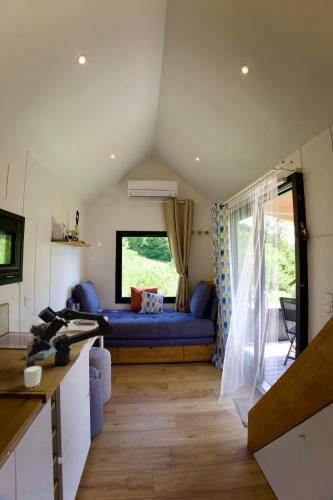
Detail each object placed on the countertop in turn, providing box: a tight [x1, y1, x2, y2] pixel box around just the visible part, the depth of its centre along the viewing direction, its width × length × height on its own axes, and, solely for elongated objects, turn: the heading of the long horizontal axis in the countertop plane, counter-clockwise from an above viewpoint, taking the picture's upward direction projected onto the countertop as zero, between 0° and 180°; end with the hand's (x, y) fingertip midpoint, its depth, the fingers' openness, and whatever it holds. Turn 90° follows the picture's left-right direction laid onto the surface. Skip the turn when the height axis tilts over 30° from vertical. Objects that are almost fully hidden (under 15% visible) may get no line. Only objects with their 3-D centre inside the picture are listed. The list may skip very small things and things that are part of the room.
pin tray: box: [25, 345, 56, 361], centre depth 142 cm, size 11×11×4 cm
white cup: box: [23, 365, 43, 387], centre depth 108 cm, size 7×7×7 cm
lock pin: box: [23, 340, 39, 371], centre depth 123 cm, size 6×6×12 cm
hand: (27, 355), depth 122 cm, fingers closed on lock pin, 4 cm apart
